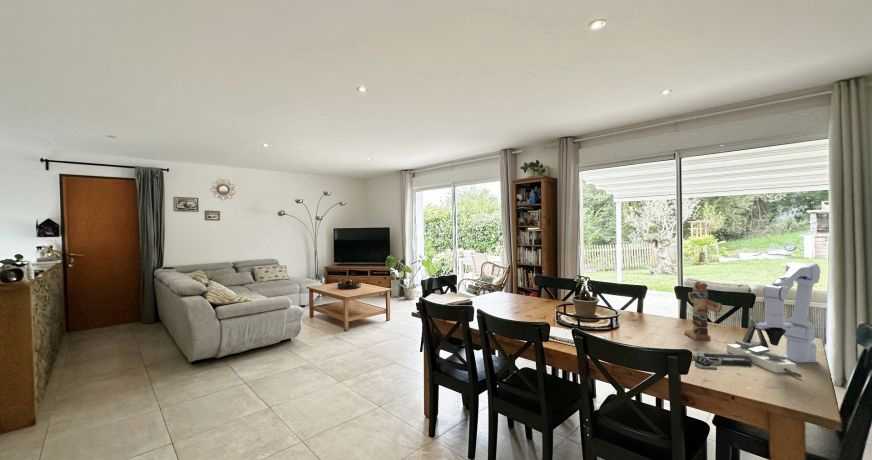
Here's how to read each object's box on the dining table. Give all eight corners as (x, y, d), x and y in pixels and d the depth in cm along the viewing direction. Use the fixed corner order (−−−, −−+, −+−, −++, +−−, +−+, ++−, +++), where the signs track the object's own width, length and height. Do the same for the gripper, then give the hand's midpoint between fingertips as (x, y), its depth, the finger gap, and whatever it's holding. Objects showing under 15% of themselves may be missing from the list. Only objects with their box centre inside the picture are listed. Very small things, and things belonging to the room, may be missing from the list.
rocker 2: (761, 348, 163) (760, 345, 163) (769, 351, 159) (769, 348, 159) (748, 351, 163) (748, 348, 163) (756, 354, 159) (756, 351, 159)
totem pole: (675, 328, 209) (676, 277, 208) (689, 329, 208) (690, 278, 207) (705, 346, 181) (706, 287, 180) (722, 346, 180) (722, 287, 179)
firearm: (765, 367, 149) (742, 352, 164) (699, 363, 154) (682, 349, 169) (765, 374, 150) (742, 359, 164) (699, 371, 155) (682, 356, 169)
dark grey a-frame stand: (765, 343, 183) (765, 320, 183) (768, 347, 178) (768, 323, 178) (742, 340, 188) (742, 318, 188) (745, 344, 183) (745, 321, 182)
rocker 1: (747, 345, 171) (747, 342, 170) (754, 348, 167) (755, 345, 166) (735, 343, 170) (735, 340, 170) (742, 346, 166) (743, 343, 166)
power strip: (744, 351, 174) (745, 342, 174) (811, 378, 144) (811, 368, 144) (726, 351, 173) (726, 343, 173) (789, 379, 143) (789, 368, 143)
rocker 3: (775, 356, 157) (776, 354, 156) (784, 360, 153) (785, 357, 152) (762, 354, 156) (763, 351, 156) (771, 358, 152) (772, 355, 152)
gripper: (766, 316, 150) (766, 348, 150) (800, 315, 150) (800, 347, 150) (751, 311, 157) (751, 342, 157) (784, 311, 157) (783, 342, 157)
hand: (774, 344), depth 154 cm, fingers closed
